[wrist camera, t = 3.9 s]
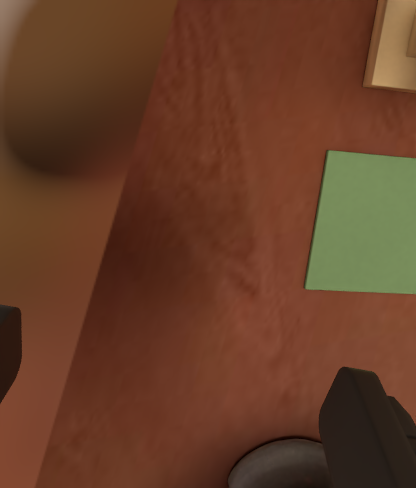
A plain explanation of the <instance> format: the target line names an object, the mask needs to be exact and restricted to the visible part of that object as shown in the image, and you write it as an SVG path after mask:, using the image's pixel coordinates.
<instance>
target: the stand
mask: <svg viewBox="0 0 416 488" xmlns="http://www.w3.org/2000/svg"><path fill="white" fill-rule="evenodd" d="M362 87H366V88H375V89H383V90H392V91H400V92H409V93H416V0H378V4H377V10H376V15H375V20H374V26H373V31H372V37H371V42H370V48H369V53H368V59H367V64H366V69H365V75H364V80H363V86H362Z"/></svg>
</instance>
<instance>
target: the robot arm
mask: <svg viewBox="0 0 416 488" xmlns="http://www.w3.org/2000/svg"><path fill="white" fill-rule="evenodd" d="M21 342H22V340H21V312H20V309H19V308H16V307H11V306H5V305H0V403H1V402H2V400H3V398H4V397H5V395H6V393H7V392H8V390H9V389H10V387H11V385H12V384H13V382H14V380H15V378H16V376H17V373H18V371H19V368H20V364H21V358H22V343H21ZM319 433H320V437H321V441H322V445H323V449H324V453H325V456H326V460H327V464H328V468H329V472H330V476H331V480H332V484H333V488H416V426H415V424H414V422H413V420H412V418H411V416H410V415H409V414H408V413H407V411H406V410H405V409H404V408H403V407H402V406H401V405H400V404H399V402H398V401H397V400H396V399H395V398H394V397H391V396H387V395H386V393H385V391H384V389H383V386H382V384H381V382H380V380H379V378H378V376H377V375H376V374H375V373H374V372H372V371H366V370H361V369H355V368H349V367H342V368H341V369H340V370H339V371H338V373H337V375H336V377H335V379H334V382H333V384H332V386H331V388H330V390H329V392H328V394H327V396H326V398H325V401H324V403H323V405H322V407H321V410H320V414H319Z"/></svg>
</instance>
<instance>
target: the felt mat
mask: <svg viewBox="0 0 416 488" xmlns="http://www.w3.org/2000/svg"><path fill="white" fill-rule="evenodd" d="M304 288H305V289H310V290H333V291H356V292H379V293H402V294H416V158H406V157H395V156H384V155H374V154H363V153H353V152H342V151H331V150H327V153H326V159H325V165H324V171H323V177H322V183H321V189H320V195H319V201H318V207H317V213H316V219H315V225H314V230H313V236H312V242H311V248H310V254H309V260H308V266H307V272H306V278H305V284H304Z"/></svg>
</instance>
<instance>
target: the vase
mask: <svg viewBox="0 0 416 488" xmlns="http://www.w3.org/2000/svg"><path fill="white" fill-rule="evenodd" d="M228 484H229V488H333V484H332V480H331V476H330V472H329V468H328V464H327V460H326V456H325V453H324V449H323V445H322V444H320V443H317V442H313V441H309V440H305V439H288V440H282V441H276V442H272V443H269V444H266V445H264V446H262V447H260V448H258V449H256V450H254V451H252V452H251V453H249V454H248V455H246V456H245V457H244V458H242V459H241V460H240V462H239V463H238V464H237V465H236V466H235V467H234V469H233V470H232V471H231V473H230V476H229V478H228Z"/></svg>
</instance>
